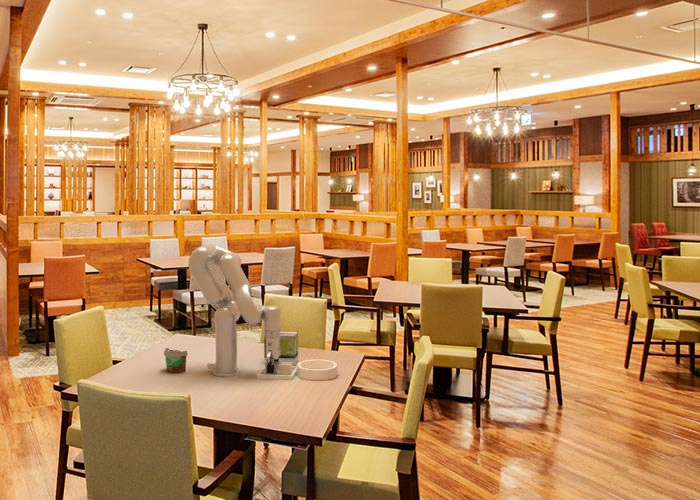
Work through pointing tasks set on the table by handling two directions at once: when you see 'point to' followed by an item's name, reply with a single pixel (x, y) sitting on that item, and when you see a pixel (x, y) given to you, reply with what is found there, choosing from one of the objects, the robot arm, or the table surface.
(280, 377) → the tray
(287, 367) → the sandstone cube
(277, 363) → the slate cube
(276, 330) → the robot arm
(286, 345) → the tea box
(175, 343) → the table surface
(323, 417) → the table surface
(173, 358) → the food container
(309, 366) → the bowl
